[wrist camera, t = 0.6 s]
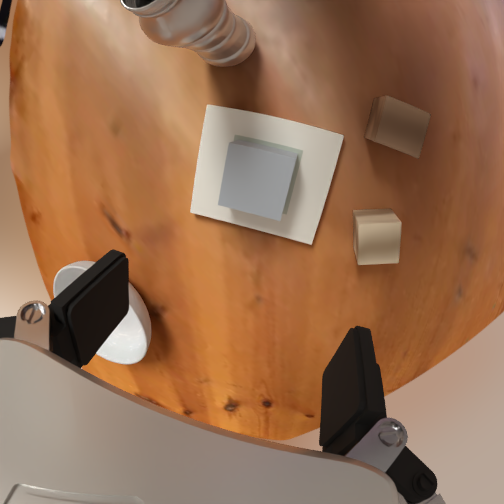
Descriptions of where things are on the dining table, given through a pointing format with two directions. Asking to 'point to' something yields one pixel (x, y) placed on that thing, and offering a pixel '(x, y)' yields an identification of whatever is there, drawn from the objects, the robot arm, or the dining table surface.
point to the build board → (278, 136)
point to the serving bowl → (129, 329)
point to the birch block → (376, 236)
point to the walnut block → (397, 125)
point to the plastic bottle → (196, 28)
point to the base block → (256, 178)
